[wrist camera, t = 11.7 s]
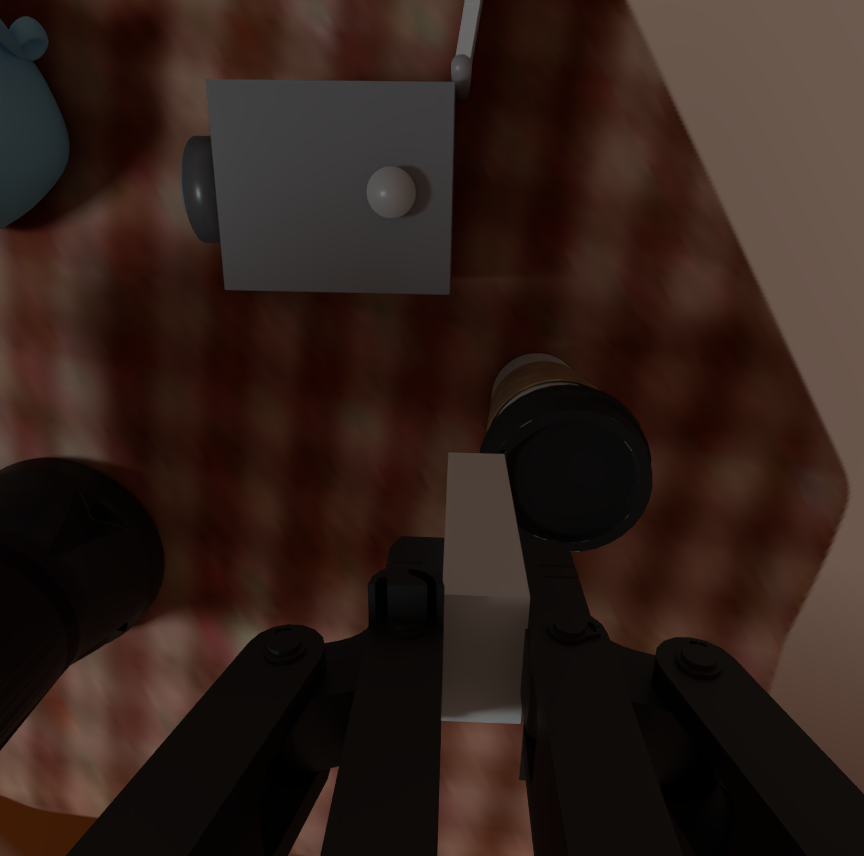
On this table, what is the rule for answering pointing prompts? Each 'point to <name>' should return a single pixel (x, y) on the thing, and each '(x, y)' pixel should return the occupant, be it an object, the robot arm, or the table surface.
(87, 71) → the table surface
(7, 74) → the teapot
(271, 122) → the camera case
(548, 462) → the coffee cup
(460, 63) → the side door
